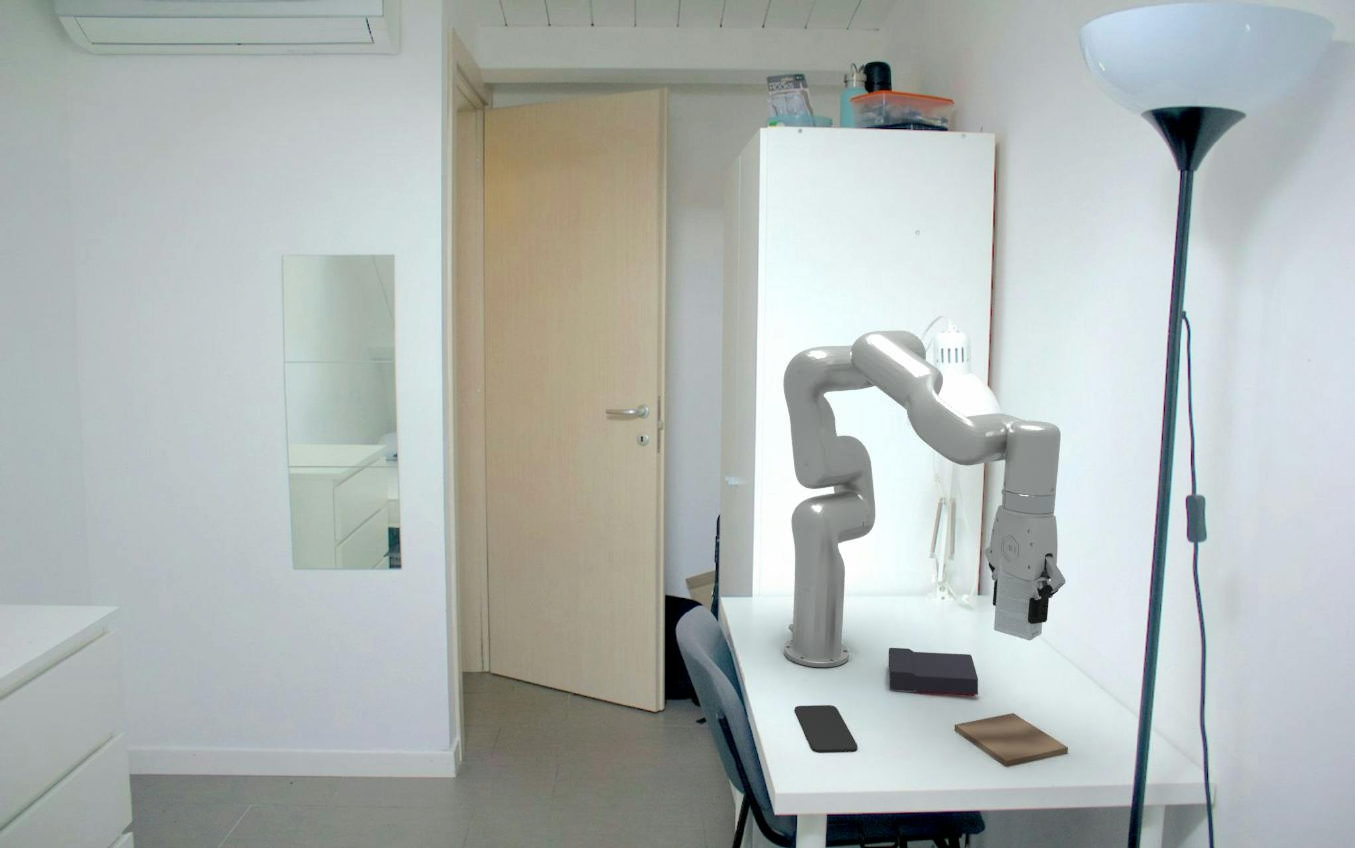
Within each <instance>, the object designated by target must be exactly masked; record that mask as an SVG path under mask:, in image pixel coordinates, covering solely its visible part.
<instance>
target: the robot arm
mask: <svg viewBox="0 0 1355 848" xmlns="http://www.w3.org/2000/svg"><path fill="white" fill-rule="evenodd" d="M926 359H927V353H926V348H925V345H924V343H923V341H922V340H921V339H920V338H919V337H918V336H917V335H915V334H914V333H912V332H910V331H907V330H906V331H905V330H875V331H870V332H866V333H864V334H862V335H861V336H859V337H858V338H857V339H856V340H854V342H853V344H852V345H828V346H827V345H826V346H815V347H811V348H807V349H804V350H802V351H800V352H798V353H797V354H795V355H794V356H793V357H792V358H791V359H790V361H789V362H788V364H787V366H786V368H785V371H784V374H783V381H782V382H783V394H784V398H785V399H784V400H785V403H786V407H787V412H788V415H789V422H790V423H789V424H790V437H791V447H792V458H793V466H794V473H795V477H796V479H797V481H798V483H799V485H800V486H802V487H804V488H806V489H811V490H818V489H826V488H827V489H828V488H832V487H833V493H828V494H827V493H826V494H821V495H815V496H812V497H809V498H807V499H805V500H803V501H801V502H800V503H798V504H797V506H796V507H795V508H794V509H793V512H792V516H791V531H792V537H793V543H794V544H793V545H794V586H793V587H794V588H793V589H794V591H793V611H792V614H793V617H792V623H790V624H788V630H789V631H791V639H790V640H789V641H787V642H786V643H785V644H784V646H783V653H784V655H785V657H786V658H788V659H789V660H790V661H792V662H793V663H796V664H799V665H802V666H808V667H813V668H831V667H837V666H840V665H843V664H844V663H846V662H848V660H849V659H850V650H849V648H848V647H847V646H846V645H845V644H844V643H842V641H843V622H844V606H845V605H844V604H845V603H844V601H845V578H846V577H845V576H846V566H845V562H844V558H843V556H842V554H841V551H840V550H839V544H841V543H844V542H848V541H854V540H856V539H860V538H863V537H865V536H867V535H868V534H869V533H870V532H871V531H872V529H873V527H874V525H875V522H876V521H875V520H876V502H875V492H874V491H875V490H874V479H873V470H872V469H873V468H872V461H871V460H872V459H871V456H870V454H869V451H868V450H867V448H866V446H865V444H863V442H862V441H861V440H860V439H858V438H856V437H855V436H851V435H838V434H837V433H838V432H837V428H836V427H837V426H836V417H835V414H834V410H833V408H832V406H831V404H830V402H829V400H828V399H827V398H826V396H825V394H826V393H830V392H831V393H832V392H844V391H845V392H847V391H856V390H857V391H858V390H864V389H868V388H869V389H870V388H872V387H876V388H877V389H878V390H880V391H881V392H882V393H884V395H886V396H888V397H889V398H891V400H892V401H895V402H896V403H897V404H898V405H900V406H901V407H902V408H904V409H905V410H906V414H907V415H906V416H907V418H908V421H909V423H910V425H911V427H912V429H913V431H914V432H915V434H916V435H917V436H918V437H919V438H920V440H922V441H923V442H924V443H926V445H928V446H929V447H930V448H931V449H933V450H934V451H936V452H937V453H938V454H939V455H941V456H942V457H944V458H945V459H947V460H948V461H950V462H952V463H954V464H958V465H960V466H966V467H967V466H977V465H981V464H986V463H991V462H993V463H994V462H1000V461H1004V472H1003V485H1002V489H1001V495H1002V496H1001V498H1002V499H1001V504H1000V505H998V507H997V509H996V513H995V516H994V520H993V524H992V530H991V536H990V544H989V547H987V548H985V549H984V556H985V557H986V560H987V562H988V567H989V569H990V572H991V579H992V581H993V595H992V605H993V606H994V607H996V594H997V580H998V564H999V557H1001V558H1002V570H1003V571H1004V572H1006V573H1008V574H1010V575H1012V576H1014V577H1017V578H1019V579H1021V580H1024V581H1027V582H1030V586H1031V590H1032V594H1033V598H1030V600H1029V612H1028V622H1029V623H1031V624H1036V623H1042V624H1043V623H1046V622H1047V621H1048V615H1049V614H1048V613H1049V604H1050V602H1049V601H1050V599H1052V598H1053V596H1054V595H1056V593H1057V592H1058V591H1059V590H1060V589H1061V588H1062V587H1063V586H1064V585H1065V584H1066V579H1065V577H1064V575H1063V574H1062V572H1061V570H1060V569H1059V566H1058V564H1057V563H1058V546H1059V545H1058V540H1059V539H1058V524H1057V516H1056V515H1055V507H1056V495H1057V494H1056V492H1057V484H1058V483H1057V481H1058V472H1059V462H1060V461H1059V460H1060V450H1061V449H1060V448H1061V435H1062V434H1061V431H1060V428H1059V427H1058V426H1057V425H1056V424H1053V423H1052V422H1051V423H1050V422H1046V421H1041V420H1026V419H1023V418H1018V417H1016V416H1013V415H1009V414H1007V413H995V412H994V413H989V414H988V413H987V414H978V415H977V414H976V415H970V416H966V415H963V414H962V413H961V412H959V411H958V410H956V409H955V408H954V407H952V406H951V405H950V404H948V403H946V402H945V401H944V400H943V399H942V398H941V397H940V393H941V390H942V387H943V383H944V377H943V373H942V372H941V371H940V369H939V368H937V366H934V365H932V363H930V362H929V361H927V360H926ZM1040 575H1041V577H1040ZM1038 582H1041V583H1042V587H1043V588H1041V589H1040V588H1039V584H1038Z"/></svg>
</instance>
